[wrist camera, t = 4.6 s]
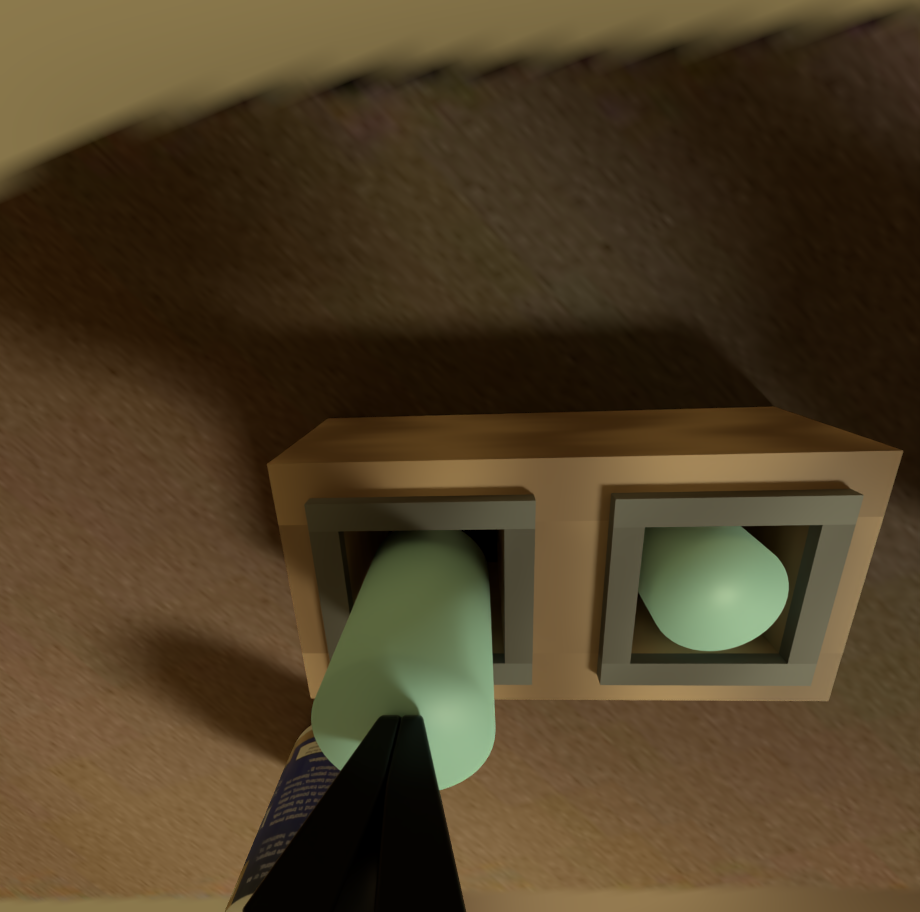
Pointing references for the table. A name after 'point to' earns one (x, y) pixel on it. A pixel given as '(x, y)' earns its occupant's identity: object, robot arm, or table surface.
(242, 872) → the pill bottle
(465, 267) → the table surface
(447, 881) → the robot arm
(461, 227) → the table surface
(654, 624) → the socket block
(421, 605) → the plunger
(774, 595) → the plunger
